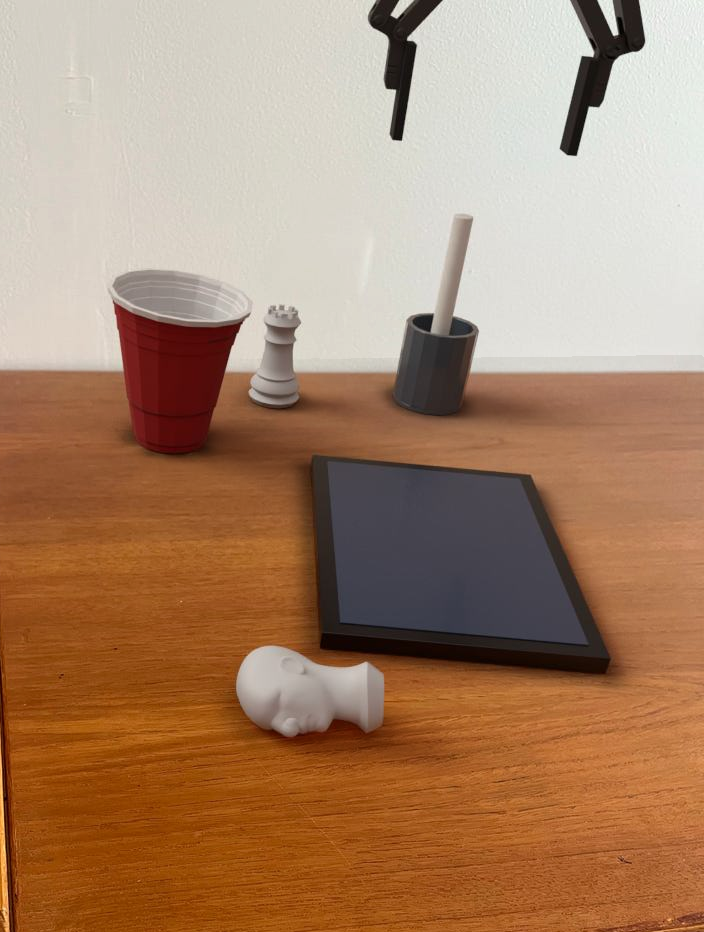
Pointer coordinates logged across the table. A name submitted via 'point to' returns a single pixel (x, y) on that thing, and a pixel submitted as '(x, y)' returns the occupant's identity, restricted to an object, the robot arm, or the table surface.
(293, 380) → the rook chess piece
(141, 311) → the plastic cup
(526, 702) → the table surface
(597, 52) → the robot arm
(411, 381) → the pen pot
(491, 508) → the tablet
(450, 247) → the stylus
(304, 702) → the white mannequin head
